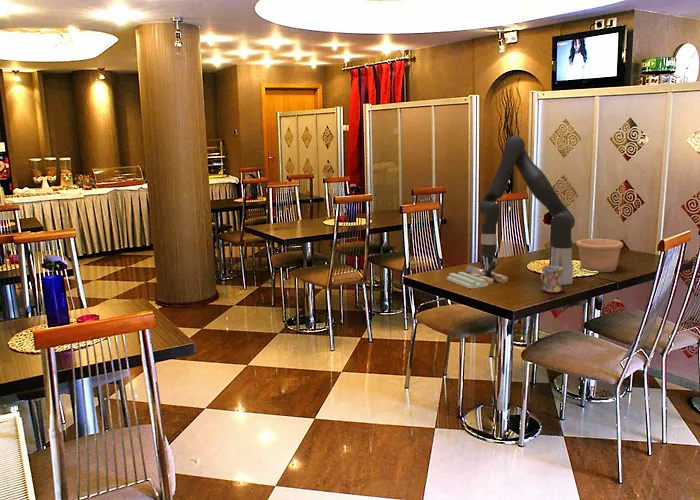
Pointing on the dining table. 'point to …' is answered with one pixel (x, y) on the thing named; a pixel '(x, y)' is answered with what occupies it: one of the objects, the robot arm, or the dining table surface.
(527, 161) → the robot arm
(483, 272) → the axle
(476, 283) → the grooved block
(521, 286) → the dining table surface
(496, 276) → the wooden blocks
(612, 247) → the pottery
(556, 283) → the mug
